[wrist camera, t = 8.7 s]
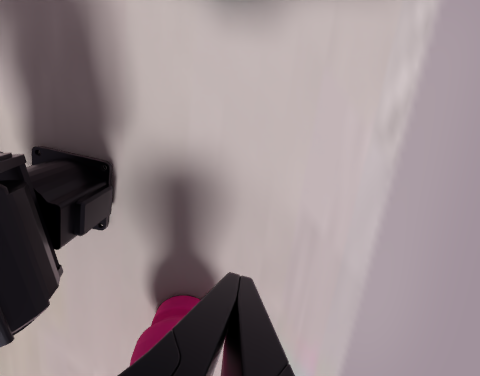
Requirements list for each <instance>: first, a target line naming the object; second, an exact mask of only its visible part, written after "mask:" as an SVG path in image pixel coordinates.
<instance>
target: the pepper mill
mask: <svg viewBox="0 0 480 376" xmlns="http://www.w3.org/2000/svg"><path fill="white" fill-rule="evenodd" d="M199 301H200V299H198V298H195V297H191V296H183V295H180V296H175V297H172V298H169V299H167V300H166V301H164V302H163V303H162V304H161V305H160V306H159V308H158V310H157V312H156V314H155V317H154V319H153V321H152V325H151V327H149V328H148V329H147V330H145V331H144V332H143V334H142V335H141V336H140V338H139V340H138V341H137V344H136V346H135V349H134V352H133V355H132V357H131V362H130V366H131V365H132V364H133V363H134V362H136V361H137V360H138V359H139V358H141V357H142V356H143V355H144V354H145V353H147V352H148V351H149V350H150V349H151V348H152V347H153V346H154V345H155V344H156V343H158V342H159V341H160V340H161V339H162V338H163V337H164V336H165V335H166V334H167V333H168V332H169V331H170V330H172V328H173V327H174V326H175V325H176V324H177V323H178V322H179V321H180V320H181V319H182V318H183V317H184V316H185V315H186V314H187V313H188V312H189V311H190V310H191V309H192V308H193V307H194V306H195V305H196V304H197V303H198V302H199Z"/></svg>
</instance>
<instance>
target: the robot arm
mask: <svg viewBox="0 0 480 376" xmlns="http://www.w3.org/2000/svg"><path fill="white" fill-rule="evenodd" d="M39 151H40V152H41V154H40V153H39ZM25 163H26V159H25V156H24V154H15V155H12V154H11V153H3V152H0V347H2V346H4V345H7V344H9V343H11V342H12V341H13V340H14V336H13V335H15V334H16V333H18V332H20V331H21V330H23V329H24V328H25V327H27V326H28V325H29V324H30V323H31V322H33V321H34V320H35V319H36V318H37V317H38V316H39V315H40V314H41V313H42V312H44V311H45V310H46V309H47V307H48V306H49V305H50V302H49V299H50V298H51V296H52V295H53V294H54V292H55V291H56V289H57V288H58V286H59V281H60V277H61V275H62V273H63V269H62V266H61V265H59V263H58V260H57V257H56V254H55V251H54V249H56V250H58V249H60V248H61V247H63V246H64V245H65V244H67V243H68V242H69V241H71V240H72V239H73V238H74V237H76V236H77V235H78V236H82V235H84V234H86V233H87V232H88V231H89V230H91V229H97V230H104V229H105V228H107V227H108V220H109V215H110V214H111V207H112V193H113V188H112V187H111V178H112V165H111V163H109V162H108V161H104V160H100V159H95V158H91V157H87V156H82V155H78V154H73V153H69V152H65V151H60V150H56V149H52V148H47V147H43V146H37V147H34V148H33V149H32V166H29V167H26V165H25ZM104 165H105V166H106V167H107V170H106V169H104V167H103V166H104ZM100 223H102V224H103V226H102V225H101V224H100ZM224 340H225V343H224ZM223 344H224V351H223V361H222V370H221V376H295V375H294V373H293V370H292V368H291V366H290V364H289V361H288V359H287V357H286V355H285V352H284V350H283V348H282V346H281V343H280V341H279V339H278V337H277V334H276V332H275V330H274V327H273V325H272V323H271V321H270V318H269V316H268V314H267V312H266V309H265V307H264V305H263V302H262V300H261V298H260V296H259V293H258V291H257V289H256V287H255V284H254V282H253V280H252V279H251V278H249V277H246V276H240V275H238V274H235V273H231V272H229V273H228V274H227V275H226V276H225V277H224V278H223V279H222V280H221V281H220V282H219V283H218V284H217V285H216V286H215V287H214V288H213V289H212V290H211V291H209V292H208V293H207V294H206V295H205V296H204V297H203V298H202V299H201V300H200V301H199V302H198V303H197V304H196V305H195V306H194V307H193V308H192V309H191V310H190V311H189V312H188V313H187V314H186V315H185V316H184V317H183V318H182V319H181V320H180V321H179V322H178V323H177V324H176V325H175V326H174V327H173V328H172V330H170V331H169V332H168V333H167V334H166V335H165V336H164V337H163V338H162V339H161V340H160V341H159V342H158V343H156V344H155V345H154V346H153V347H152V348H151V349H150V350H149V351H148V352H147V353H145V354H144V355H143V356H142V357H141V358H139V359H138V360H137V361H136V362H134V363H133V364H132V365H131V366H129V367H128V368H127V369H126V370H124V371H123V372H122V373H120V374H119V375H118V376H213V373H214V370H215V367H216V364H217V361H218V359H219V356H220V353H221V350H222V347H223Z"/></svg>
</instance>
